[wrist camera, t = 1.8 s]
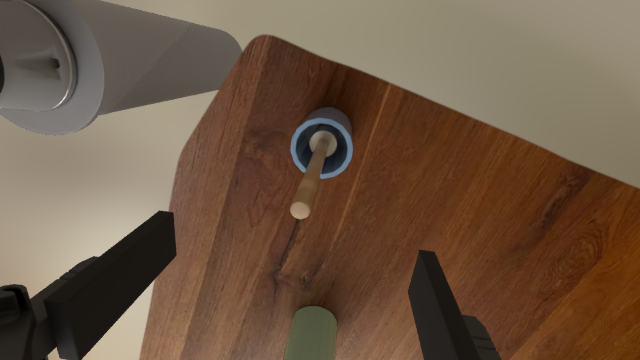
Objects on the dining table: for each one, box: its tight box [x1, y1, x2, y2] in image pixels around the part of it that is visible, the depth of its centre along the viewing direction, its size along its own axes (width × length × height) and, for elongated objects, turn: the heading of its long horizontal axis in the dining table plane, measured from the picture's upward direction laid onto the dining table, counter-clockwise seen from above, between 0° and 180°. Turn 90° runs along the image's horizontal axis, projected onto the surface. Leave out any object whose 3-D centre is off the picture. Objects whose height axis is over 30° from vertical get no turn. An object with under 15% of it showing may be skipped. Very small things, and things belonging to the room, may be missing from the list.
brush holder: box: [291, 107, 353, 179], centre depth 39 cm, size 7×7×9 cm
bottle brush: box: [290, 123, 339, 219], centre depth 32 cm, size 3×3×24 cm
